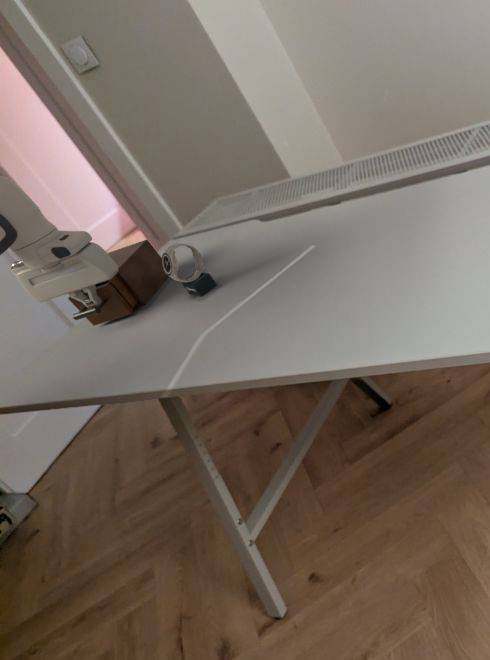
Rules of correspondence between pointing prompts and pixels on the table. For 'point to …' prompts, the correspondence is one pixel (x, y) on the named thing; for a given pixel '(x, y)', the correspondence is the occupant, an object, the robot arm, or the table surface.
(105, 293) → the drawer
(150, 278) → the cabinet
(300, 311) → the table surface
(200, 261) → the watch
